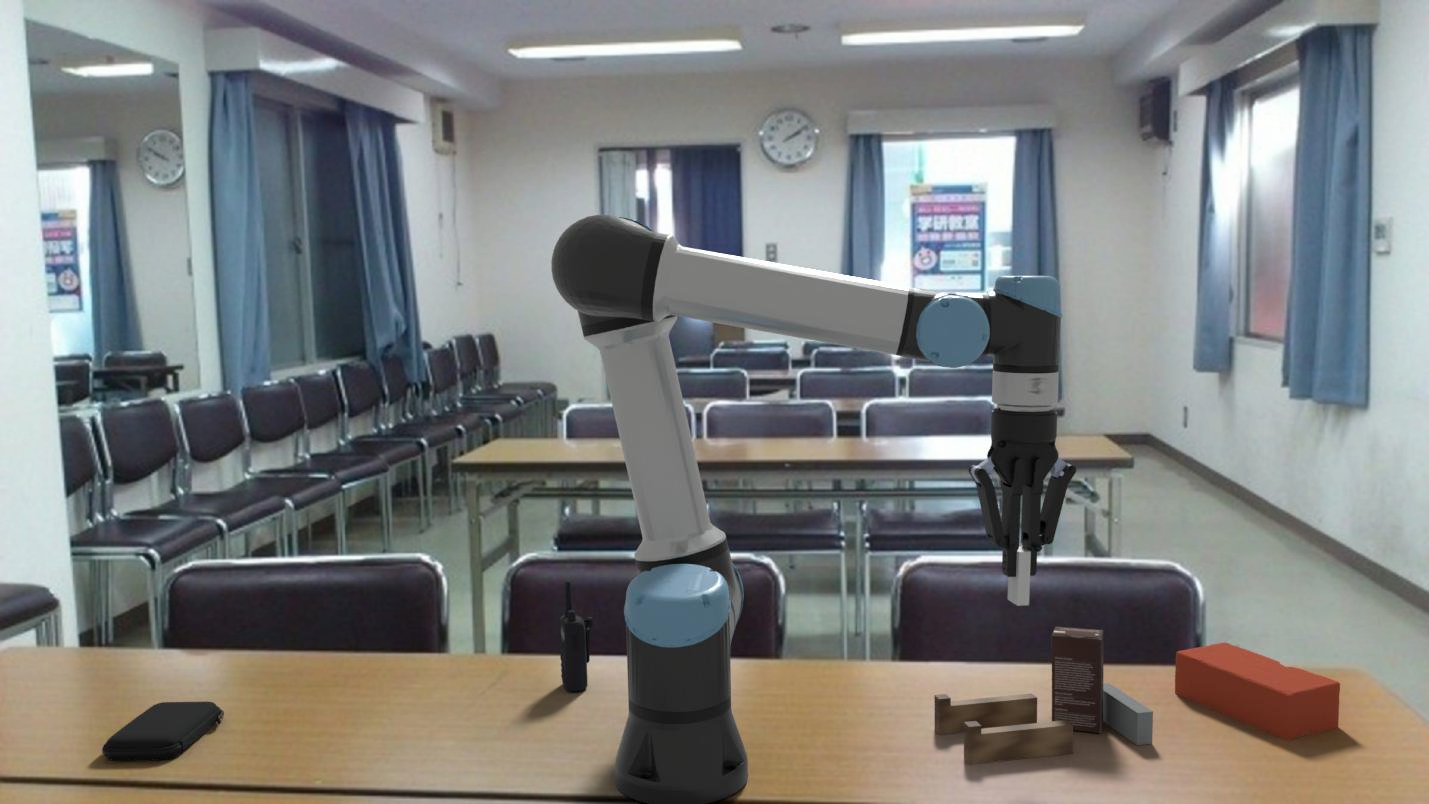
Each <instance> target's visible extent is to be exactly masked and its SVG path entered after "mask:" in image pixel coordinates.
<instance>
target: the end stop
mask: <svg viewBox="0 0 1429 804" xmlns="http://www.w3.org/2000/svg"><path fill="white" fill-rule="evenodd" d="M1153 719H1154V712H1153V710H1151V709H1149V708H1148V707H1147V706H1146V705H1143V704H1142V703H1140V702H1139V701H1138V700H1136V699H1134V698H1133V697H1131V696H1130V695H1128V694H1126V693H1125V692H1124V691H1122V690H1121V689H1119V688H1117V687H1116V686H1114V685H1113V684H1111V683H1109V682H1107V683H1106V682H1105V683H1103V723H1105V724H1107V725H1108V726H1109V727H1111V728H1112V729H1113V730H1115V731H1117V732H1118V733H1119V734H1121V735H1122V736H1123V737H1124V738H1126V739H1127V740H1129V741H1130V742H1132V743H1133V744H1135V745H1136V746H1143V745H1151V744H1153V733H1154V732H1153V729H1154V727H1153V726H1154V723H1153V722H1154V720H1153Z"/></svg>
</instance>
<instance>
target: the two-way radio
mask: <svg viewBox="0 0 1429 804" xmlns="http://www.w3.org/2000/svg"><path fill="white" fill-rule="evenodd" d="M564 610H565V611H564V614H563V615H562V616H560V618H559V630H560V631H559V633H560V635H559V636H560V644H559V647H560V649H559V650H560V662H561V663H560V671H561V673H560V676H561V682H562V685H563V687H564V688H565V690H566V691H568V692H570V691H574V692H578V691H579V692H581V690H582V691H583V690H585V689H586V688H588V681H589V680H588V663H589V662H590V661H591V660H590V657H591V656H590V655H591V654H590V638H591V637H590V636H591V631H592V627H593V626H594V623H593V622H594V621H593V620H594V619H593V617H592V616H587V617H586V619H584V618H583V617H581V616H579V615H576V611H575V610H574V609H573V596H572V583H571V581H570V579H569V580H565V582H564Z"/></svg>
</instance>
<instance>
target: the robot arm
mask: <svg viewBox="0 0 1429 804" xmlns="http://www.w3.org/2000/svg"><path fill="white" fill-rule="evenodd" d="M551 275H552V279H553V283H554V285H555V288H556V289H557V291H558V294H559V295H560V296H561V297H562V299H563V300H564V301H565V302H566V303H567V304H568V305H569V306H570V307H571V308H572V309H574V310H575V311H577V314H578V319H579V323H580V327H581V330H582V336H583V339H584V340H585V341H587V342H588V343H589V344H591V345H592V346H594V347H596V349H598V351H599V353H600V358H601V361H602V365H603V371H604V375H605V380H606V384H607V389H608V392H609V396H610V397H609V398H610V401H611V406H612V409H613V414H614V418H615V423H616V427H617V432H618V436H619V440H620V445H621V450H622V454H623V458H624V462H625V466H626V471H627V475H628V480H629V485H630V488H631V492H632V497H633V501H634V505H635V510H636V515H637V518H638V524H639V527H640V532H641V537H642V540H641V543H640V544H639V546H638V547H637V549H636V550H635V552H634V554H633V557H634V561H635V562H634V563H635V565H636V571H637V575H636V576H635V577H634V578H633V579H632V580H631V581H630V583H629V584H628V587H627V589H626V593H625V603H624V606H623V615H624V621H625V633H626V635H625V636H626V661H627V662H626V663H627V665H626V666H627V695H628V717H627V720H626V722H625V726H624V728H623V729H624V730H623V732H622V736H621V740H620V743H619V746H618V749H617V752H616V756H615V760H614V780H615V786H616V787H617V789H618V790H619V791H620V792H621V793H622V794H623V795H625V796H626V797H629V798H631V799H633V800H635V801H638V802H640V803H641V802H642V803H645V804H710V803H714V802H719V801H721V800H723V799H727V798H728V797H730V796H733V795H734V794H737V792H739V791H740V790H742V788H744V786H745V785H746V783H747V782H748V780H749V779H748V778H749V765H748V763H749V761H748V760H749V759H748V756H747V755H748V754H747V751H746V748H745V746H744V742H743V740H742V737H741V733H740V732H739V728H738V726H737V723H736V720H735V717H734V714H733V711H732V683H731V682H732V680H731V679H732V678H731V677H732V675H731V673H732V672H731V671H732V670H731V667H732V666H731V647H732V646H731V643H732V640H733V636H734V633H735V630H736V626H737V623H738V621H739V620H740V617H741V614H742V611H743V606H744V585H743V581H742V578H741V576H740V573H739V571H738V569H737V567H736V566H735V564H734V562H733V560H732V557H731V552H730V549H729V548H730V547H729V544H728V539H727V535H726V533H725V532H724V531H723V530H721V529H719V528H718V527H717V526H715V525H714V524H712V522H711V520H710V515H709V510H708V506H707V500H706V497H705V492H704V488H703V483H702V479H701V474H700V470H699V465H698V460H697V456H696V452H695V447H694V444H693V443H694V442H693V438H692V435H691V430H690V426H689V421H688V416H687V411H686V407H685V402H684V399H683V394H682V389H681V385H680V381H679V376H678V370H677V367H676V362H675V358H674V354H673V350H672V345H671V341H670V336H669V335H670V332H671V330H672V328H673V327H674V325H675V323H676V322H677V320H678V317H681V318H685V319H686V318H687V319H693V320H697V321H702V322H709V323H716V324H719V325H726V326H731V327H735V328H743V329H749V330H753V331H759V332H763V333H764V332H765V333H769V334H770V333H771V334H775V335H776V334H777V335H780V336H781V335H782V336H787V337H791V338H797V339H798V338H799V339H803V340H809V341H813V342H814V341H815V342H821V343H825V344H831V345H838V346H843V347H848V348H849V347H850V348H854V349H859V350H866V351H872V352H876V353H882V354H888V355H894V356H898V357H902V358H908V359H913V360H918V361H924V362H930V363H932V364H934V365H935V366H938V367H942V368H950V369H956V368H957V369H958V368H961V367H964V366H967V365H969V364H972V363H973V362H974V361H976V360H977V359H978V358H979V357H992V360H993V361H992V363H993V364H992V385H991V387H992V388H991V402H992V403H993V404H994V405H996V407H994V408H993V409H992V410H991V416H990V418H991V425H990V439H991V445H990V447H989V449H988V451H987V454H986V459H984V460H983V461H981V462H980V463H979V464H978V465H975V464H972V465H970V466H969V467H968V474H969V475H970V477H971V478H972V480H973V482H974V484H975V486H976V489H977V496H978V499H979V505H980V510H981V514H982V515H981V516H982V518H983V524H984V530H985V534H986V538H987V541H988V542H989V543H991V544H993V545H995V546H997V547H999V548H1001V550H1002V557H1001V558H1002V563H1001V565H1002V566H1001V573H1002V574H1003V575H1005V576H1006V577H1007V600H1008V601H1010V602H1011V603H1012V604H1014V605H1015V606H1016V607H1017V606H1018V607H1019V606H1020V607H1021V606H1030V593H1031V591H1030V588H1031V586H1030V585H1031V576H1034V577H1035V576H1036V574H1037V567H1038V566H1037V565H1038V552H1040V551H1042V550H1043V546H1045V545H1052V543H1053V542H1054V540H1055V536H1056V531H1057V528H1058V525H1059V521H1060V518H1061V517H1060V516H1061V512H1062V509H1063V505H1064V501H1065V496H1066V493H1067V489H1068V486H1069V484H1070V482H1072V479H1073V477H1074V476H1075V474H1076V472H1077V467H1076V466H1075V465H1072V464H1070V463H1067V462H1065V461H1064V460H1063V459H1061V458H1060V457H1059V452H1058V449H1057V446H1056V440H1057V434H1058V431H1057V430H1058V412H1057V411H1056V410H1055V409H1053V407H1054V406H1056V405H1057V404H1058V402H1059V401H1058V399H1059V366H1060V362H1059V361H1060V345H1061V343H1060V342H1061V327H1062V326H1061V324H1062V323H1061V321H1062V318H1063V314H1062V310H1061V309H1062V307H1061V305H1062V304H1061V303H1062V302H1061V285H1060V282H1059V280H1057V278H1055V277H1054V276H1051V275H1000V276H997V278H996V279H995V282H994V287H993V290H992V291H986V292H980V293H979V292H958V291H957V292H953V291H952V292H950V291H949V292H948V291H946V292H945V291H944V292H943V291H936V290H929V289H924V288H917V287H910V286H909V285H908V286H907V285H903V284H902V285H901V284H895V283H890V282H886V281H885V282H884V281H878V280H875V279H874V280H873V279H867V278H863V277H857V276H850V275H844V274H839V273H833V272H828V271H822V270H818V269H817V270H816V269H811V268H806V267H805V268H804V267H799V266H793V265H789V264H782V263H778V262H777V263H776V262H772V261H766V260H760V259H755V258H748V257H744V256H737V255H733V254H726V253H721V252H720V253H719V252H715V251H710V250H705V249H704V250H703V249H699V248H692V247H686V246H682V244H680V243H679V242H678V240H677V239H676V237H675V235H672V234H665V233H661V232H655V231H654V230H653V229H652V228H651V227H649V226H648V225H646V224H645V223H644V222H641V221H639V220H636V219H633V218H629V217H624V216H623V217H622V216H619V217H618V216H614V215H608V214H595V215H590V216H586V217H584V218H581V219H579V220H577V221H576V222H574V223H572V224H570V225H569V226H568V227H567V228H566V229H564V231H563V232H562V233H561V235H560V236H559V237H558V239H557V241H556V243H555V246H554V248H553V253H552V256H551ZM994 472H995V473H996V475H997V477H999V479H1000V490H1001V492H1002V495H1001V496H1002V497H1001V500H1002V501H1001V514H1000V509H999V503H998V499H997V494H996V489H995V484H994V482H993V481H992V479H993V478H994ZM1049 473H1050V478H1049V480H1048V482H1047V487H1046V490H1045V494H1044V499H1043V502H1042V494H1043V492H1044V480H1045V479H1046V477H1047V476H1048V474H1049ZM1020 531H1021V532H1020ZM1020 543H1021V544H1022V546H1020Z"/></svg>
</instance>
